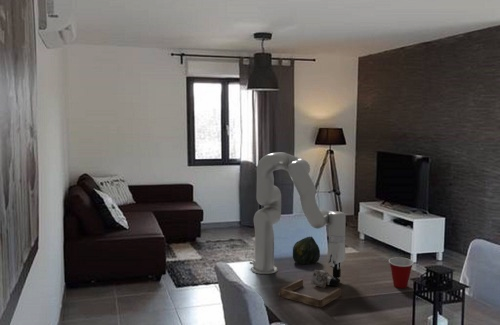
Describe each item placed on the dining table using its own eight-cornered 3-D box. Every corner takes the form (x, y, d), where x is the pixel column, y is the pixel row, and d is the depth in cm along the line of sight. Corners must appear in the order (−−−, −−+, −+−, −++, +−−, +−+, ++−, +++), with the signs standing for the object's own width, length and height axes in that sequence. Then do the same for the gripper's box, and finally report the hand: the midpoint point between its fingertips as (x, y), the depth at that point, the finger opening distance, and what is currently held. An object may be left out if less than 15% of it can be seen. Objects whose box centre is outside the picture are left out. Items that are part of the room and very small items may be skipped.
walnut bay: (279, 296, 198) (279, 289, 197) (300, 285, 211) (300, 278, 211) (320, 307, 185) (321, 300, 185) (341, 295, 198) (341, 288, 198)
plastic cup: (386, 288, 207) (387, 262, 206) (389, 281, 217) (389, 256, 216) (412, 292, 203) (413, 265, 202) (413, 284, 213) (414, 258, 212)
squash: (282, 251, 248) (297, 233, 240) (301, 247, 258) (315, 230, 250) (297, 273, 241) (312, 256, 233) (315, 268, 251) (331, 251, 243)
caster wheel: (339, 288, 214) (334, 292, 205) (316, 280, 219) (310, 283, 209) (343, 274, 214) (338, 278, 205) (320, 266, 218) (314, 269, 209)
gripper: (337, 234, 223) (336, 271, 224) (322, 240, 211) (321, 279, 212) (351, 236, 218) (351, 274, 220) (336, 242, 206) (336, 282, 208)
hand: (336, 276), depth 216 cm, fingers closed
